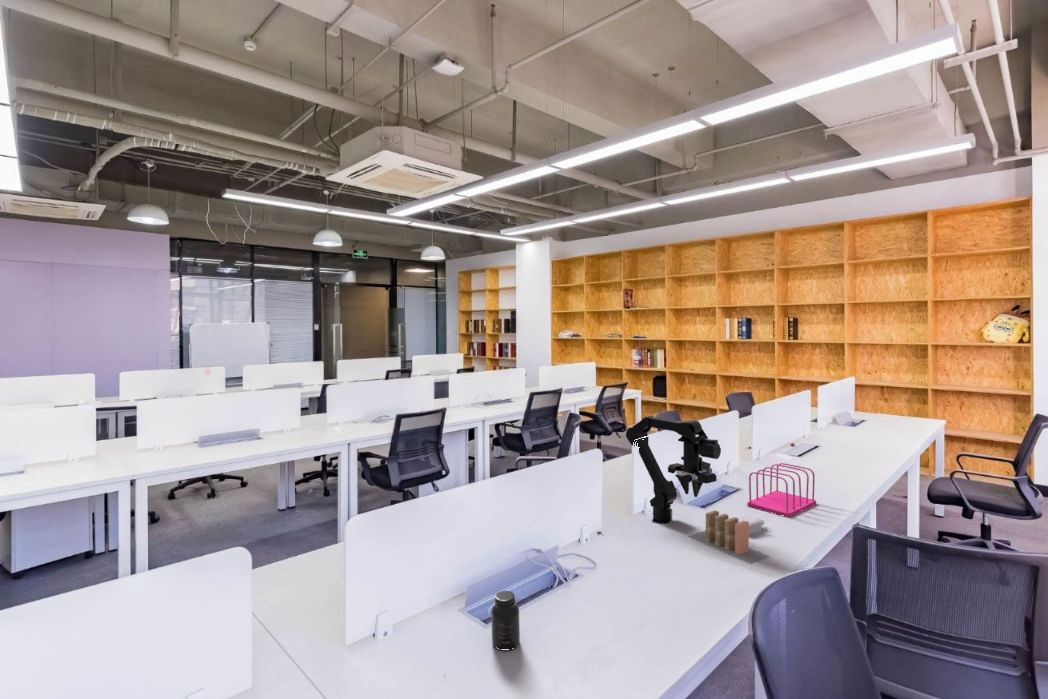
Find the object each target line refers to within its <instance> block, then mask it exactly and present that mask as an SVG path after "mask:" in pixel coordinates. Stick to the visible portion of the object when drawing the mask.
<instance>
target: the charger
mask: <svg viewBox="0 0 1048 699" xmlns="http://www.w3.org/2000/svg"><path fill="white" fill-rule="evenodd" d="M733 517H735V518H738V523H739V522H742V521H747V522H749V536H751V535H754V534H757V533H762V529H763V528H762V526H763V525H765V524H766V523H765V522H764V521H765V520H764V519H761V518H759V517H756V516H754V517H752V516H749V515H747V514H743V513H742V514H739V515H734V516H731V517H728V519H730V518H733Z"/></svg>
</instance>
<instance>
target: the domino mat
mask: <svg viewBox="0 0 1048 699" xmlns="http://www.w3.org/2000/svg"><path fill="white" fill-rule="evenodd" d="M686 537H687V538H690V539H691V540H695V541H696V542H699V543H701V544H704V545H705V546H708V547H710V548H712V549H715V550H717V551H719V552H721V553H724V554H726V555H729V556H731V557H734V558H736V559H738V560H740V561H743V562H745V563H747V564H750V565H752V564H755V563H757V562H760V561H763V560H764V559H768V558H771V556H770V555H767V554H766V553H764V552H763V553H762V552H760V551H757V550H755V549H752V548H751V547H749V551H748V552H746V553H743V554H740V555H738V554H736V553H735V549H732V550H726V549H725V544H724V545H722V546H717V545H715V541H712V542H707V541H706V530H704V531H700V532H696V533H694V534H690V535H687V536H686Z"/></svg>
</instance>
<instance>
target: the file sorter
mask: <svg viewBox="0 0 1048 699" xmlns="http://www.w3.org/2000/svg"><path fill="white" fill-rule="evenodd" d="M775 466H776V467H775ZM779 467H782V468H779ZM783 468H788V469H792V470H788V469H783ZM767 469H769V470H767ZM773 470H775V471H773ZM794 470H797V471H801V472H804V473H805V474H806V497H804V496H802V484H801V483H802V482H801V481H802V480H801V476H800V474H799V473H798V472H796V471H794ZM806 470H807V471H809V472H811V474H812V496H811V497H812V498H809V481H810V480H809V478H810V477H809V473H808V472H807V471H806ZM779 471H781V472H788V473H793V474H795V475H797V477H798V488H799V490H798V491H799V493H798V495H796V486H795V485H796V482H795V479H794V478H793V477H792V475H790V474H787V473H780V472H779ZM767 473H770V474H767ZM753 474H755V476H756V477H755V481H756V494H755V495H756V498H754V499H752V485H751V484H752V478H751V477H752V475H753ZM773 474H774V475H773ZM775 474H776V475H775ZM759 475H761V476H762V496H760V497H759ZM779 475H781V476H779ZM765 476H768V477H770V479H769V493H767V494H766V487H765ZM782 476H785V477H789V478H790V479H791V480H792V493H789V487H788V485H789V484H788V482H787V480H786V479H785V478H784V477H782ZM773 478H775V480H776V490H774V491H773V490H772V489H773V486H772V484H773ZM779 479H780V480H783V481H784V482H785V490H786V491H785V492H784V491H779ZM815 482H816V481H815V472H814V471H813V470H812V469H811V468H808V467H804V466H800V465H794V464H790V463H783V462H781V463H775V464H772V465H771V466H769V467H766V466H765V467H764V468H763V469H758V470H757V471H753V472H751V473H750V474H749V477H748V491H749V493H748V494H749V501H747V504H746V505H747V507H749V506H750V508H753V507H754V509H757V508H758V509H757V510H760V509H761V510H760V511H764V510H765V512H767V511H769V512H768V513H771V512H773V513H772V514H774V513H776V514H775V515H777V514H780V515H779V516H781V515H784V516H787V517H786V518H790V517H789V516H791V515H793V514H795V513H797V512H799V513H801V512H802V511H801V510H803V511H805V510H807V509H808V507H809V508H811V507H813V506H815V505H817V500H816V499H815ZM814 504H815V505H814ZM812 505H813V506H812ZM810 506H811V507H810ZM806 508H807V509H806ZM804 509H805V510H804ZM800 511H801V512H800ZM797 514H798V513H797ZM795 515H796V514H795ZM784 516H783V517H784ZM793 516H794V515H793ZM791 517H792V516H791Z"/></svg>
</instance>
